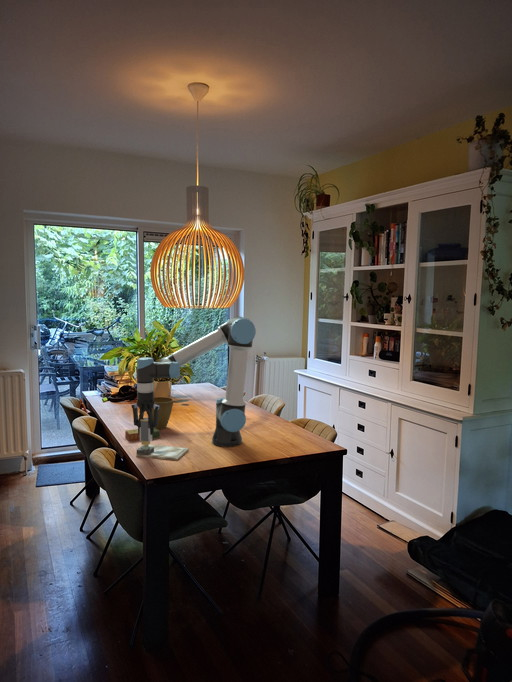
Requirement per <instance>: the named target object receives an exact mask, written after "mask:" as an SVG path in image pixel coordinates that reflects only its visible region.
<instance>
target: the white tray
mask: <svg viewBox="0 0 512 682" xmlns="http://www.w3.org/2000/svg"><path fill="white" fill-rule="evenodd" d="M188 451H189V447H181V446H171V445H170V446H169V445H160V444H158V445H157V444H152V443H150V444H149V449H148V450H142V445H141V446H139V448H136V457H138V458H139V457H141V458H149V459H159V460H160V459H161V460H170V461H179V460H180V458H182V457H183V456H184V455H185V454H186V453H188Z"/></svg>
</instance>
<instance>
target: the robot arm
mask: <svg viewBox="0 0 512 682" xmlns="http://www.w3.org/2000/svg"><path fill="white" fill-rule="evenodd" d="M256 331H257V330H256V326H255V324H254V323H253V322H252V321H251V320H250V318H247V317H243V316H234V317H232V318H231V319H229V320H227V321H225V322H223V323H222V324H221V325H219V326H218V327H217V329H216V330H214V331H211V332H210V333H208V334H206V335H205V336H203V337H201V338H199V339H197V340H195V341H193V342H192V343H190V344H188V345H186V346H184V347H183V348H180V349H179V350H177V351H175V352H173V353H172V354H169V355H168V356H163V357H162V358H161V359H160V360H159V361H154V358H153V357H148V356H147V357H139V358H138V359H137V360H136V391H137V392H136V395H137V396H136V399H137V401H136V403H133V404H130V405H131V409H132V414H133V415H132V416H133V425H134V426H136V427H137V429H138V434H140V440H139V442H142V441H141V419H142V418H145V417H144V415H145V412H146V415H147V418H148V420H149V426H150V427H149V428H148V442H150V443H151V442H152V441H153V439H152V435H153V434H154V427H156V426H157V425H158V413H159V408H160V405H156V404H155V403H154V397H155V391H154V388H155V385H154V384H155V380H154V379H177V378H180V377H181V367H182V366H185V365H186V364H188V363H191V362H192V361H194V360H196V359H197V358H199V357H201V356H203V355H205V354H207V353H209V352H211V351H212V350H214V349H216V348H218V347H220V346H222V345H223V344H226V345H227V347H228V348H229V349H230V351H229V357H228V358H229V359H228V366H227V367H228V369H227V377H226V378H227V379H226V387H225V395H224V397H218V398H217V399H216V402H215V405H216V406H215V409H216V410H215V411H216V412H215V413H216V414H215V429H214V431H213V434H212V435H213V436H212V438H211V439H212V441H211V442H212V444H213V445H215V446H217V447H223V448H225V447H227V448H229V447H237V446H240V445H242V443H243V438H242V434H241V430H242V429H243V428H244V426H245V425H246V422H247V416H246V414H245V413H246V406H247V405H246V402H245V400H244V394H245V393H244V392H245V384H246V378H247V377H246V374H247V367H248V358H249V357H248V355H249V351H250V350H251V349H252V348H253V341H254V339H255V337H256ZM153 407H154V409H155V410H154V421H153V415H152V408H153ZM138 409H139V411H138Z"/></svg>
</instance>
